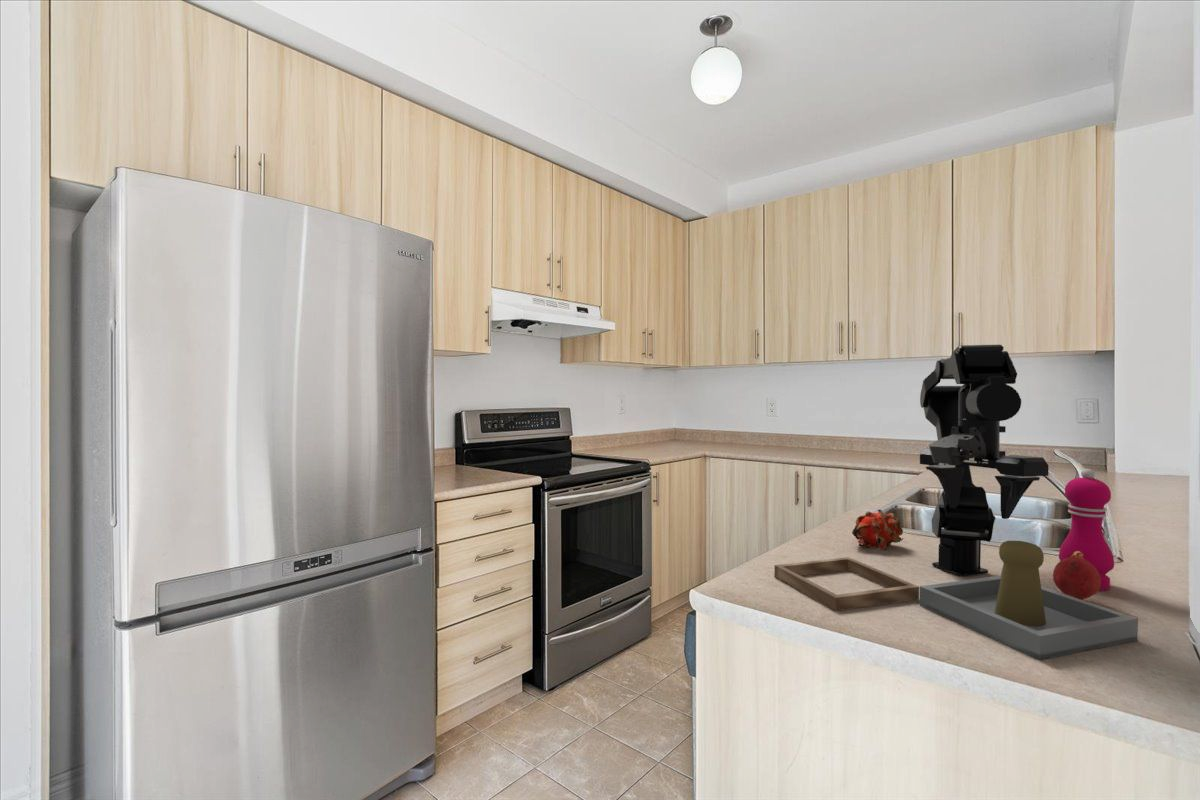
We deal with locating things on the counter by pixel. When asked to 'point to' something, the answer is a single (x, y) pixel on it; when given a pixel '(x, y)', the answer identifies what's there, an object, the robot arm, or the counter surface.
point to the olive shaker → (1021, 584)
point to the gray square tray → (1063, 633)
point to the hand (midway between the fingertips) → (978, 513)
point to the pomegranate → (1077, 577)
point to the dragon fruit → (877, 530)
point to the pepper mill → (1088, 524)
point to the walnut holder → (893, 593)
